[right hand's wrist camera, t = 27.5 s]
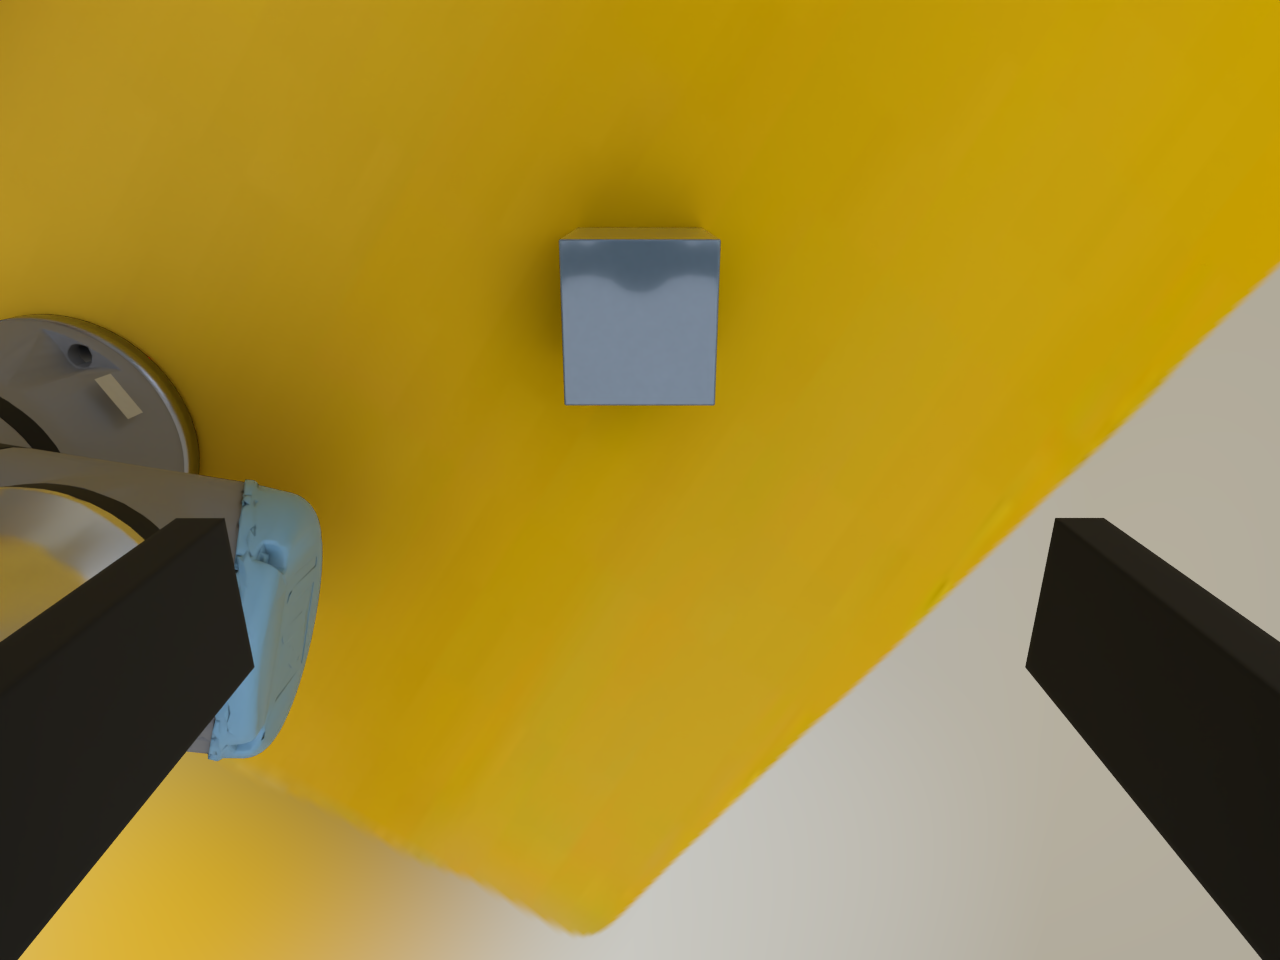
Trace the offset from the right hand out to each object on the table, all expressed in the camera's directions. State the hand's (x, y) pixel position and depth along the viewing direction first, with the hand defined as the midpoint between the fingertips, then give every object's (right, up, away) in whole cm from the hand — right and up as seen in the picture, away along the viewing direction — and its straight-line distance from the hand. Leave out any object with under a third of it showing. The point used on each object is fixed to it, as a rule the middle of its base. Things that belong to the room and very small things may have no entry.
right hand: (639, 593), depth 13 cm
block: (0, +13, +33) cm, 36 cm away
